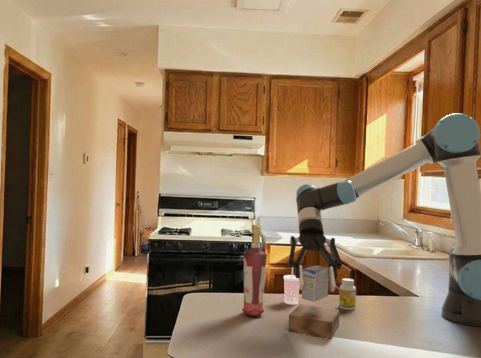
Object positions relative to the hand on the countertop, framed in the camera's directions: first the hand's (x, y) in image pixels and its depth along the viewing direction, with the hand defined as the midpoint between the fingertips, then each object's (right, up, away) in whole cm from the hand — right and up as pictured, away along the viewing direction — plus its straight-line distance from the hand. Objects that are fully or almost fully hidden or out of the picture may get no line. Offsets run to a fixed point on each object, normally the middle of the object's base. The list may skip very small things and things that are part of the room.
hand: (317, 288), depth 114 cm
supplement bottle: (+15, -13, +25) cm, 32 cm away
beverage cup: (-4, -13, +28) cm, 31 cm away
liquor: (-18, -12, +13) cm, 25 cm away
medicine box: (0, -4, +3) cm, 5 cm away
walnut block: (0, -13, +3) cm, 13 cm away
